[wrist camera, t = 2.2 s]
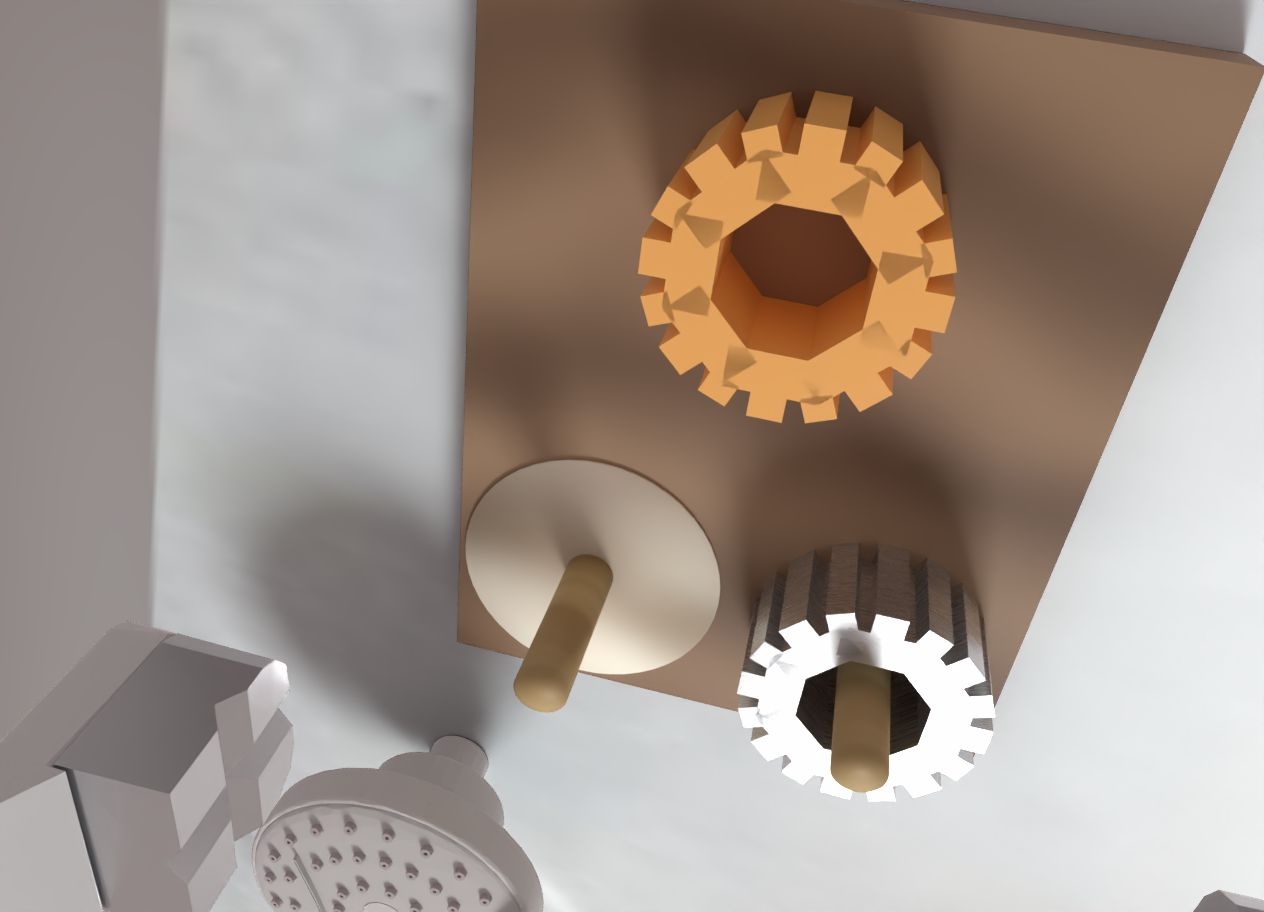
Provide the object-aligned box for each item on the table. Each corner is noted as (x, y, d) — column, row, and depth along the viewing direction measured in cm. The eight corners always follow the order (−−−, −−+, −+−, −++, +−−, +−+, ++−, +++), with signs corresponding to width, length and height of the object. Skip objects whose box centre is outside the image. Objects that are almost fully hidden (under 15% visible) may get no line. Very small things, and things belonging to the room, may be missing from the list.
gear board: (966, 732, 32) (979, 916, 26) (473, 612, 34) (391, 760, 28) (1244, 53, 21) (1363, 128, 16) (501, -63, 23) (379, -31, 18)
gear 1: (908, 387, 25) (908, 449, 22) (650, 335, 26) (623, 390, 23) (987, 119, 22) (998, 157, 19) (687, 69, 22) (659, 98, 20)
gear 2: (948, 743, 30) (952, 825, 28) (734, 691, 31) (720, 765, 29) (1017, 573, 27) (1029, 649, 24) (774, 519, 28) (761, 587, 25)
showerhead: (566, 1047, 32) (288, 1009, 35) (619, 856, 39) (378, 836, 41) (503, 842, 28) (189, 815, 31) (574, 662, 34) (307, 653, 37)
